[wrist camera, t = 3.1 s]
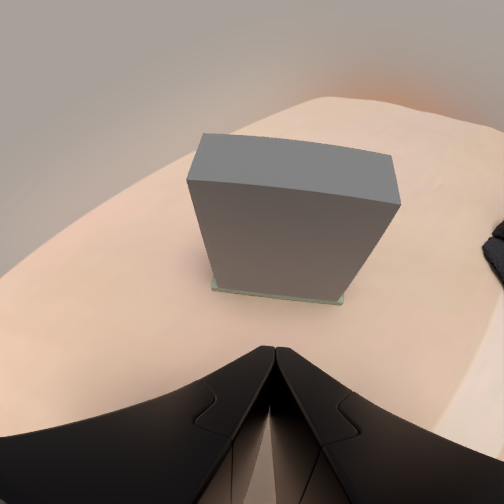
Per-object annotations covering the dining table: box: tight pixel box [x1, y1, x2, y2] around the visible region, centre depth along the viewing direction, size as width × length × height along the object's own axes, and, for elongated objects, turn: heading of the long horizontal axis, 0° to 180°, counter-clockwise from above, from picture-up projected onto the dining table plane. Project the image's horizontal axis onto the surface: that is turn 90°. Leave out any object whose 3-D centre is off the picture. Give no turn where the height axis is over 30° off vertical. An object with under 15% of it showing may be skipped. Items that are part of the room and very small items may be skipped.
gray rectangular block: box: [186, 133, 401, 302], centre depth 18 cm, size 3×9×12 cm, turn 82°
